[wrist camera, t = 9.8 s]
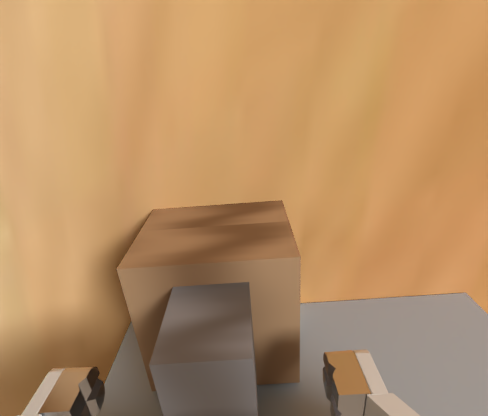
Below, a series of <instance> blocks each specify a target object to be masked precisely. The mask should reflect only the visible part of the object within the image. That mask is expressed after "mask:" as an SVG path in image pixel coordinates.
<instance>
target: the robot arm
mask: <svg viewBox="0 0 488 416" xmlns="http://www.w3.org/2000/svg"><path fill="white" fill-rule="evenodd" d="M323 361H324V365H325V367H324V368H323V384H324V389H325V393H326V397H327V399H328V400H329V401H330V402H331V404H330V412H331V416H420V415H419V414H418V413H416V412H415V411H414V410H413V409H412V408H410V407H409V406H408V405H407V404H406V403H404V402H403V401H402V400H401V399H400V398H398V397H397V396H396V395H395V394H394V393H388V391H387V389H386V387H385V384H384V382H383V380H382V378H381V376H380V374H379V372H378V369H377V367H376V365H375V363H374V361H373V359H372V357H371V354H370V352H369V351H368V350H367V349H366V350H346V351H332V352H324V354H323ZM98 376H99V371H98V369H97V367H75V368H53V369H52V370H51V371H49V372H48V373H47V375H46V377H45V378H44V380H43V381H42V383H41V384H40V386H39V387H38V389H37V391H36V392H35V394H34V395H33V397H32V398H31V400H30V402H29V403H28V405H27V406H26V408H25V409H24V411H23V413H22V414H21V415H16V416H96V415H97V414H98V413H99V412H100V410H101V408H102V405H103V403H104V397H105V386H104V383H103V381H101V380H100V379H98Z"/></svg>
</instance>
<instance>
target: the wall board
mask: <svg viewBox="0 0 488 416" xmlns="http://www.w3.org/2000/svg"><path fill="white" fill-rule="evenodd" d="M366 349H367V350H368V351H369V352H370V354H371V357H372V359H373V361H374V363H375V365H376V367H377V369H378V372H379V374H380V376H381V378H382V380H383V382H384V384H385V387H386V389H387V391H388V393H394V394H395V395H396V396H397V397H398V398H400V399H401V400H402V401H403V402H404V403H406V404H407V405H408V406H409V407H410V408H412V409H413V410H414V411H415V412H416V413H418V414H419V415H420V416H488V314H487V313H486V312H485V311H484V310H483V309H482V308H481V307H480V306H479V305H478V304H477V303H476V302H475V301H474V300H473V299H472V298H471V297H470V296H469V295H467V294H466V293H455V294H439V295H424V296H409V297H393V298H378V299H363V300H347V301H332V302H317V303H301V304H300V382H299V383H282V384H266V385H257V395H258V413H259V416H331V412H330V404H331V402H330V401H329V400H328V399H327V397H326V393H325V389H324V384H323V368H324V367H325V365H324V361H323V354H324V352H332V351H346V350H366ZM104 386H105V397H104V403H103V405H102V408H101V410H100V412H99V413H98V414H97V415H96V416H163V413H162V409H161V406H160V402H159V398H158V395H157V391H152V390H151V386H150V383H149V379H148V376H147V373H146V369H145V366H144V362H143V359H142V355H141V352H140V348H139V345H138V342H137V338H136V335H135V331H134V328H133V324H132V321H131V323H130V325H129V328H128V330H127V332H126V335H125V337H124V339H123V342H122V344H121V346H120V349H119V351H118V353H117V356H116V358H115V360H114V363H113V365H112V367H111V370H110V372H109V374H108V377H107V379H106V381H105V384H104Z"/></svg>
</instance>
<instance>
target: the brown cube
mask: <svg viewBox="0 0 488 416" xmlns="http://www.w3.org/2000/svg"><path fill="white" fill-rule="evenodd" d="M300 260H301V257H300V254H299V251H298V248H297V245H296V242H295V238H294V235H293V232H292V229H291V226H290V223H289V220H288V217H287V214H286V211H285V208H284V205H283V202H282V200H281V201H267V202H253V203H239V204H225V205H210V206H196V207H182V208H168V209H154V210H153V211H152V212H151V214H150V216H149V217H148V219H147V220H146V222H145V224H144V225H143V227H142V229H141V230H140V232H139V233H138V235H137V237H136V238H135V240H134V242H133V243H132V245H131V246H130V248H129V250H128V251H127V253H126V254H125V256H124V258H123V259H122V261H121V263H120V264H119V266H118V267H117V269H116V270H117V273H118V276H119V280H120V283H121V287H122V290H123V294H124V297H125V300H126V304H127V307H128V311H129V314H130V318H131V321H132V324H133V328H134V331H135V335H136V338H137V342H138V345H139V348H140V352H141V355H142V359H143V362H144V366H145V369H146V373H147V376H148V379H149V383H150V386H151V390H152V391H157V395H158V398H159V402H160V406H161V409H162V413H163V416H259V413H258V395H257V385H266V384H282V383H299V382H300Z"/></svg>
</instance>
